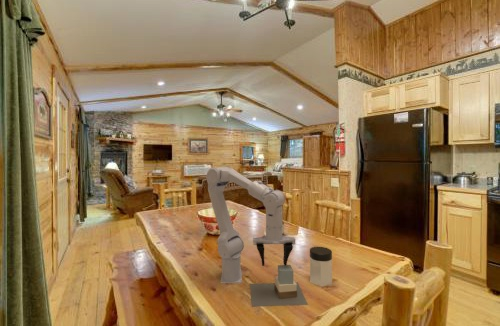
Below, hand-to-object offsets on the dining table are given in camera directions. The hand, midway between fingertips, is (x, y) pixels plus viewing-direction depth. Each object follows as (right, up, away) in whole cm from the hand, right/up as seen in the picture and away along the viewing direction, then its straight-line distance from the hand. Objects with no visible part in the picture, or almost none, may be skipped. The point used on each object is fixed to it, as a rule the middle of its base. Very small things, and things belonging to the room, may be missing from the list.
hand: (274, 264), depth 86 cm
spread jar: (+6, -9, +63) cm, 64 cm away
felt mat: (+1, -10, -1) cm, 10 cm away
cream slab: (+4, -7, -1) cm, 8 cm away
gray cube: (+4, -5, -1) cm, 7 cm away
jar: (+19, -10, +8) cm, 22 cm away
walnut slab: (+4, -10, -1) cm, 10 cm away
